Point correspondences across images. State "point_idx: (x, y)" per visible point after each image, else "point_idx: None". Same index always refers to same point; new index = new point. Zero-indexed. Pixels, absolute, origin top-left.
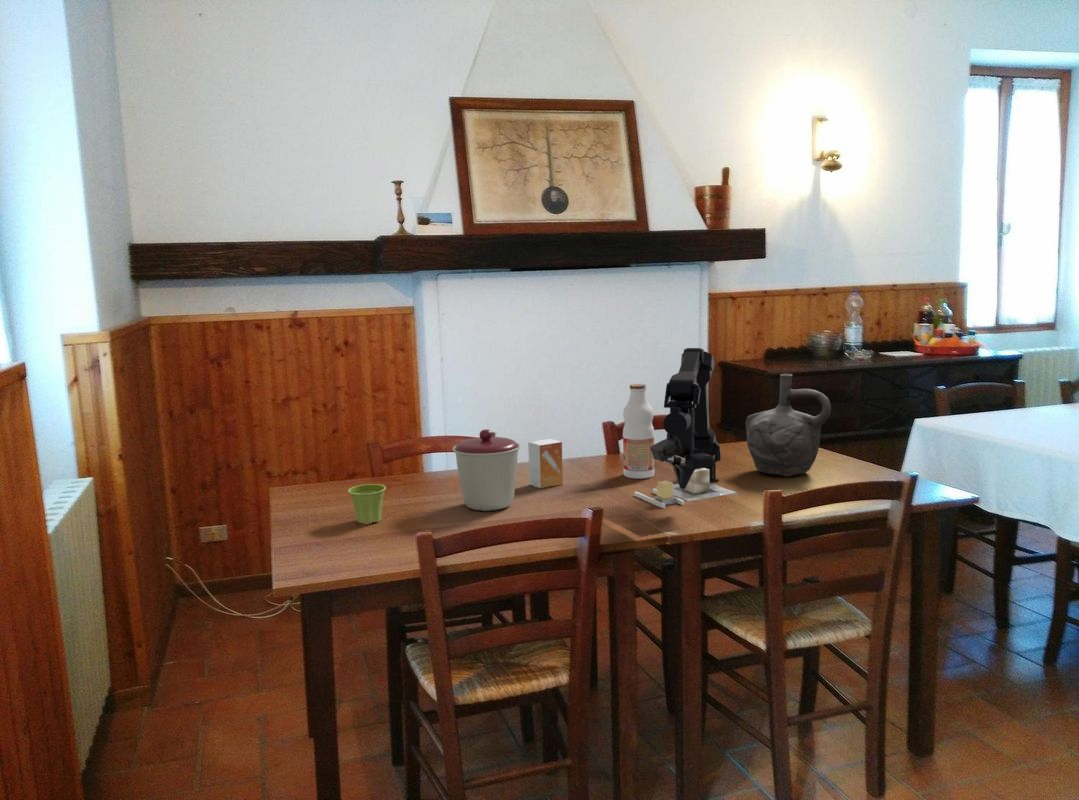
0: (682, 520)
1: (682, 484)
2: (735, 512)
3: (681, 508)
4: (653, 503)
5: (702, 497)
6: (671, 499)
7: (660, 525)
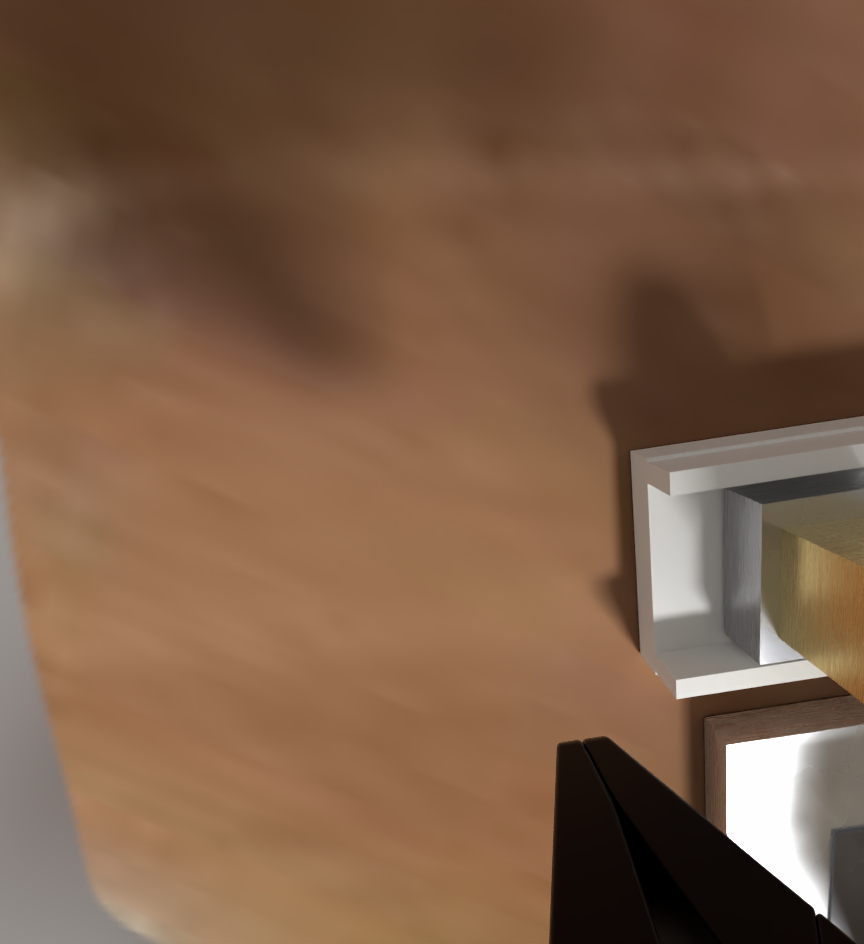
0: (351, 505)
1: (557, 808)
2: (394, 917)
3: None
4: (826, 438)
5: None
6: (753, 607)
7: (277, 249)
